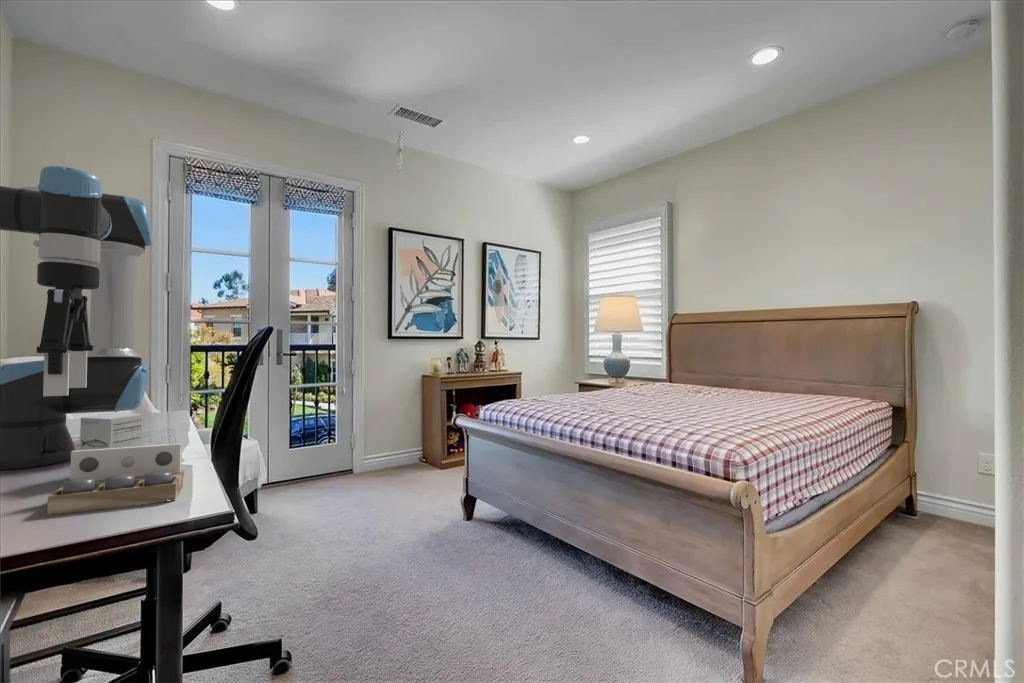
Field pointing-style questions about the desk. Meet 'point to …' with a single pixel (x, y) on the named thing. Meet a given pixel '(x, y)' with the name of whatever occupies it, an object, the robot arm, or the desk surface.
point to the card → (125, 461)
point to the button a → (79, 485)
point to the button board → (114, 496)
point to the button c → (158, 478)
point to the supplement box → (111, 431)
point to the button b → (119, 481)
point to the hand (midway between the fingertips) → (66, 391)
